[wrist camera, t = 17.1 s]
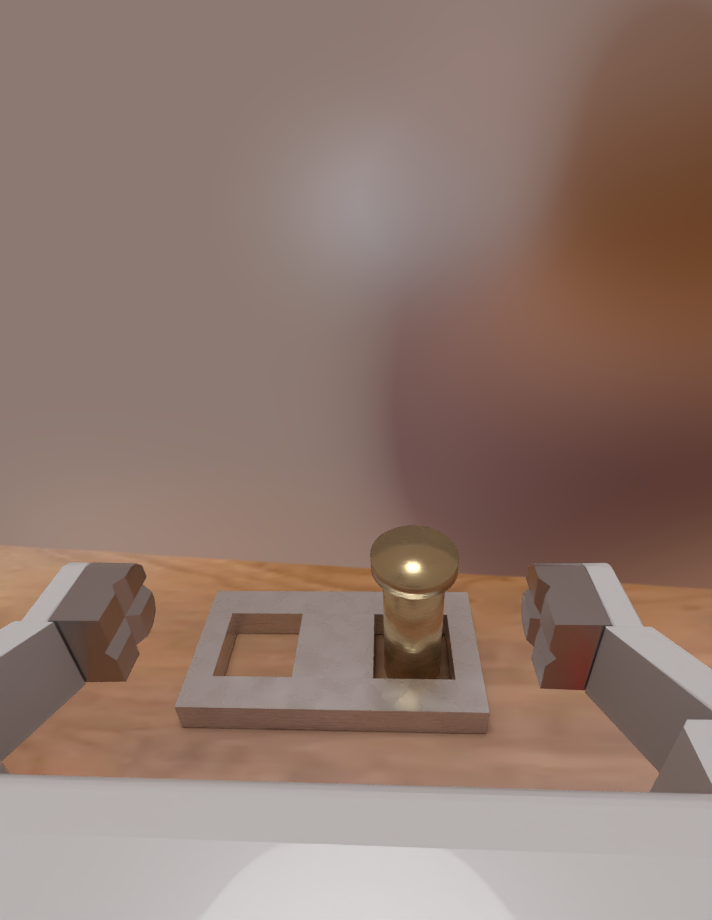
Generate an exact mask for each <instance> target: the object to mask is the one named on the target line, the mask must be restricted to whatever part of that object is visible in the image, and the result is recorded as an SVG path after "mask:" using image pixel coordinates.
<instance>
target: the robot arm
mask: <svg viewBox="0 0 712 920" xmlns="http://www.w3.org/2000/svg"><path fill="white" fill-rule="evenodd" d="M146 577H147V576H146V574H145V572H144V569H143V567H142V565H139V564H133V563H94V562H93V563H76V562H70V563H68V564H66V565H64V566H63V567H62V568H61V569H60V571H59V572H58V573H57V575H56V576H55V577H54V579H53V580H52V581H51V583H50V584H49V585H48V586H47V588H46V589H45V590H44V592H43V593H42V594H41V596H40V597H39V598H38V600H37V601H36V602H35V603H34V605H33V606H32V607H31V609H30V610H29V611H28V613H27V614H26V615H25V617H24V618H23V619H22V620H21V621H14V622H12V623H10V624H9V625H7V626H5V627H4V628H2V629H0V920H712V669H711V668H709V667H708V666H706V665H705V664H703V663H702V662H701V661H699V660H698V659H696V658H695V657H694V656H692V655H691V654H689V653H688V652H687V651H685V650H684V649H682V648H681V647H679V646H678V645H677V644H675V643H674V642H672V641H671V640H670V639H668V638H667V637H665V636H664V635H663V634H661V633H660V632H658V631H657V630H655V629H654V628H653V627H644V626H643V624H642V622H641V620H640V619H639V617H638V615H637V613H636V611H635V609H634V608H633V606H632V604H631V602H630V600H629V598H628V597H627V595H626V593H625V591H624V589H623V587H622V586H621V584H620V582H619V580H618V578H617V576H616V575H615V573H614V571H613V569H612V567H611V566H610V565H609V564H607V563H581V564H530V565H529V567H528V570H527V575H526V580H527V583H528V586H529V589H528V590H527V591H526V592H524V593H523V598H522V605H521V611H522V624H523V629H524V633H525V637H526V640H527V641H528V642H529V643H530V644H532V645H533V646H534V649H533V654H532V662H533V665H534V669H535V672H536V675H537V679H538V682H539V686H540V688H544V689H567V690H586V691H585V693H586V694H587V695H588V696H589V697H590V698H591V699H592V701H593V702H594V703H595V704H596V705H597V706H598V707H599V708H600V709H601V710H602V711H603V712H604V713H605V715H606V716H607V717H608V718H609V719H610V720H611V721H612V722H613V723H614V724H615V725H616V726H617V727H618V728H619V730H620V731H621V732H622V733H623V734H624V735H625V736H626V737H627V738H628V739H629V740H630V741H631V742H632V744H633V745H634V746H635V747H636V748H637V749H638V750H639V751H640V752H641V753H642V754H643V755H644V756H645V757H646V759H647V760H648V761H649V762H650V763H651V764H652V765H653V766H654V767H655V768H656V769H657V770H658V771H659V775H658V777H657V779H656V781H655V783H654V785H653V787H652V789H651V791H650V792H623V791H588V790H552V789H517V788H481V787H445V786H410V785H374V784H338V783H302V782H266V781H230V780H194V779H159V778H124V777H88V776H53V775H18V774H11V773H10V772H9V771H8V769H7V768H6V767H5V765H4V764H3V763H2V762H1V761H3V760H4V759H5V758H6V757H7V756H8V755H9V754H10V753H11V752H12V751H13V750H15V749H16V748H17V747H18V746H19V745H20V744H21V743H22V742H23V741H24V740H25V739H27V738H28V737H29V736H30V735H31V734H32V733H33V732H34V731H35V730H36V729H37V728H39V727H40V726H41V725H42V724H43V723H44V722H45V721H46V720H47V719H48V718H50V717H51V716H52V715H53V714H54V713H55V712H56V711H57V710H58V709H59V708H60V707H62V706H63V705H64V704H65V703H66V702H67V701H68V700H69V699H70V698H71V697H72V696H74V695H75V694H76V693H77V692H78V691H79V690H80V689H81V688H82V687H83V686H84V685H85V684H86V683H85V682H126V680H127V678H128V676H129V674H130V672H131V670H132V668H133V666H134V664H135V662H136V660H137V658H138V656H139V651H138V648H137V644H138V643H139V642H141V641H142V640H143V639H145V638H146V637H147V636H148V635H149V632H150V630H151V628H152V626H153V623H154V617H155V612H156V609H155V599H154V596H153V593H152V592H151V591H150V590H149V589H148V588H146V587H145V586H144V585H143V583H144V581H145V579H146Z"/></svg>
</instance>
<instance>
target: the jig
mask: <svg viewBox="0 0 712 920" xmlns="http://www.w3.org/2000/svg"><path fill="white" fill-rule="evenodd" d="M237 633H287V634H299V639H298V644H297V650H296V656H295V662H294V668H293V674H292V677H243V676H225V673H226V669H227V666H228V663H229V659H230V656H231V653H232V649H233V646H234V642H235V639H236V636H237ZM375 634H384V617H383V592H306V591H217V593H216V596H215V599H214V602H213V604H212V607H211V610H210V612H209V615H208V618H207V621H206V623H205V626H204V629H203V631H202V634H201V637H200V640H199V642H198V645H197V648H196V650H195V653H194V656H193V659H192V661H191V664H190V667H189V669H188V672H187V675H186V678H185V680H184V683H183V686H182V688H181V691H180V694H179V697H178V699H177V702H176V705H175V709H176V712H177V714H178V717H179V719H180V722H181V725H182V727H199V728H246V729H294V730H341V731H388V732H435V733H483V734H486V732H487V725H488V719H489V713H490V712H489V707H488V702H487V696H486V691H485V685H484V680H483V675H482V669H481V664H480V658H479V653H478V647H477V642H476V637H475V631H474V626H473V620H472V615H471V610H470V604H469V599H468V593H467V592H445V597H444V612H443V627H442V635H445V636H446V644H447V652H448V660H449V668H450V676H451V680H445V679H378V678H374V657H375Z"/></svg>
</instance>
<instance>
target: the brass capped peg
mask: <svg viewBox="0 0 712 920" xmlns="http://www.w3.org/2000/svg"><path fill="white" fill-rule="evenodd" d="M370 556H371V572H372V575H373V578H374V579H375V581H376V582H377V584H378V585H379V586H380V587H381V588H383V617H384V662H385V672H386V674H387V676H388V678H389V679H437V677H438V675H439V671H440V657H441V642H442V627H443V612H444V597H445V591H447V590H448V589H449V588H450V587H451V586H452V585H453V584H454V583H455V581H456V579H457V576H458V567H459V566H458V565H459V552H458V549H457V547H456V545H455V544H454V542H453V541H452V540H451V539H450V538H449V537H448V536H446V535H445V534H443V533H441V532H440V531H437V530H435V529H432V528H429V527H424V526H413V525H412V526H402V527H397V528H394V529H391V530H389V531H387V532H385V533H383V534H382V535H380V536H379V537H378V538H377V540H376V541H375V542H374V543H373V545H372V548H371V553H370Z"/></svg>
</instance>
